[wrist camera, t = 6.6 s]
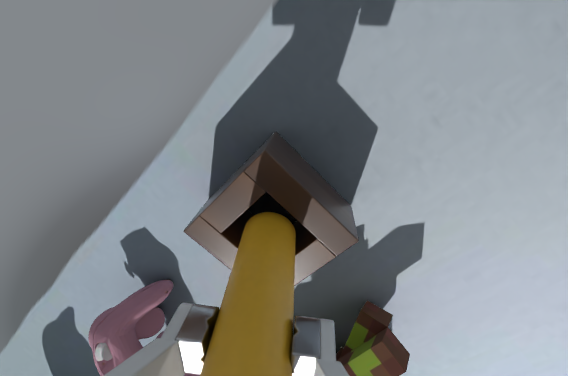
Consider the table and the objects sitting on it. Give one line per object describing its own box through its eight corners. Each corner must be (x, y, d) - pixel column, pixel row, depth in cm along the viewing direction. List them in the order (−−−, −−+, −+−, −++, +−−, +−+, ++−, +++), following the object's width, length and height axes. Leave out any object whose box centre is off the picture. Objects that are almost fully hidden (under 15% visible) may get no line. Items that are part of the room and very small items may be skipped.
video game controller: (145, 268, 25) (61, 336, 20) (173, 275, 22) (82, 356, 17) (196, 343, 29) (135, 416, 24) (225, 357, 26) (163, 443, 21)
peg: (241, 211, 16) (180, 388, 8) (295, 211, 15) (289, 391, 8) (246, 253, 17) (199, 439, 9) (296, 253, 17) (292, 443, 9)
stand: (275, 130, 17) (264, 149, 13) (351, 206, 19) (359, 241, 15) (207, 200, 20) (182, 231, 16) (278, 261, 21) (270, 302, 18)
